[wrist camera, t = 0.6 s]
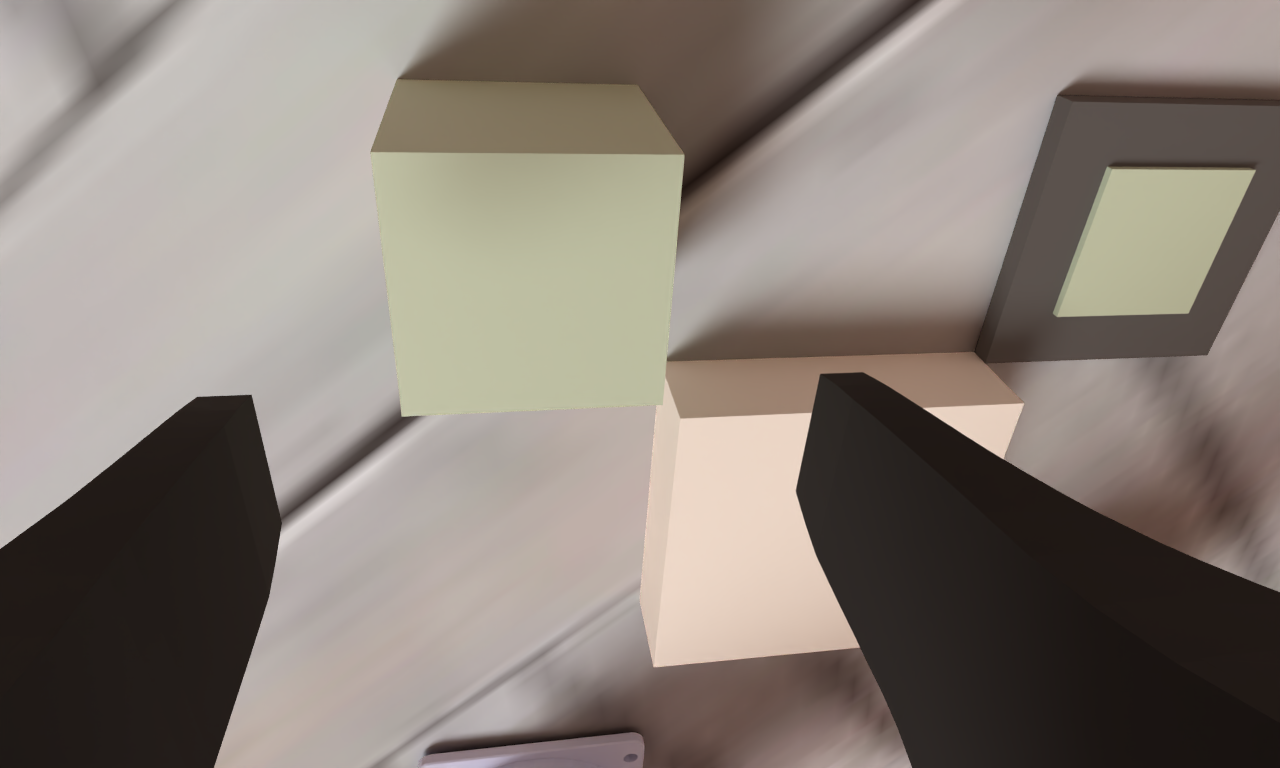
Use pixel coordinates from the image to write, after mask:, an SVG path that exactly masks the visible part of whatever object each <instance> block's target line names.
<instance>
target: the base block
mask: <svg viewBox="0 0 1280 768" xmlns="http://www.w3.org/2000/svg"><path fill="white" fill-rule="evenodd" d="M854 372H863V373H865V374H867V375H869V376H871V377H873V378H875V379H877V380H878V381H880V382H882V383H884V384H885V385H887V386H889V387H890V388H892V389H894V390H895V391H897V392H898V393H900V394H901V395H903V396H905V397H906V398H908V399H909V400H911V401H913V402H914V403H916V404H917V405H919V406H920V407H922V408H923V409H925V410H926V411H928V412H930V413H931V414H933V415H934V416H936V417H937V418H939V419H940V420H942V421H943V422H945V423H947V424H948V425H950V426H951V427H953V428H954V429H956V430H957V431H959V432H961V433H962V434H964V435H965V436H967V437H968V438H970V439H972V440H973V441H975V442H976V443H978V444H979V445H981V446H983V447H984V448H986V449H987V450H989V451H991V452H992V453H994V454H995V455H997V456H999V457H1000V458H1002V459H1004V456H1005V453H1006V451H1007V448H1008V445H1009V443H1010V440H1011V437H1012V435H1013V432H1014V430H1015V427H1016V424H1017V422H1018V419H1019V416H1020V414H1021V411H1022V408H1023V406H1024V402H1023V401H1022V400H1021V399H1020V398H1019V397H1018V396H1017V395H1016V394H1015V393H1014V392H1013V391H1012V390H1011V389H1010V388H1009V387H1008V386H1007V385H1006V384H1005V383H1004V382H1003V381H1002V380H1001V379H1000V378H999V377H998V376H997V375H996V374H995V373H994V372H993V371H992V370H991V369H990V368H989V367H988V366H987V365H986V364H985V363H984V362H983V361H982V360H981V359H980V358H979V357H978V356H977V355H976V354H975V353H974V352H954V353H922V354H890V355H859V356H827V357H795V358H764V359H732V360H700V361H668V362H666V373H665V384H664V396H663V405H656V416H655V428H654V440H653V451H652V463H651V474H650V486H649V497H648V509H647V521H646V532H645V544H644V555H643V567H642V578H641V590H640V605H641V610H642V615H643V620H644V624H645V629H646V634H647V638H648V643H649V648H650V653H651V657H652V662H653V667H663V666H674V665H684V664H694V663H705V662H715V661H726V660H736V659H746V658H757V657H767V656H777V655H788V654H798V653H808V652H819V651H829V650H840V649H850V648H860V646H859V644H858V642H857V640H856V638H855V636H854V634H853V632H852V630H851V628H850V626H849V624H848V622H847V620H846V617H845V615H844V613H843V611H842V609H841V607H840V605H839V603H838V601H837V599H836V597H835V595H834V593H833V591H832V588H831V586H830V584H829V582H828V580H827V578H826V576H825V574H824V572H823V569H822V567H821V565H820V563H819V561H818V559H817V556H816V554H815V551H814V548H813V545H812V542H811V539H810V536H809V533H808V530H807V528H806V524H805V521H804V518H803V514H802V511H801V508H800V504H799V501H798V498H797V495H796V486H797V482H798V477H799V472H800V467H801V463H802V458H803V453H804V448H805V444H806V439H807V434H808V429H809V424H810V420H811V415H812V410H813V405H814V401H815V396H816V391H817V386H818V382H819V377H820V374H827V373H854Z"/></svg>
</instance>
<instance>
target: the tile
mask: <svg viewBox="0 0 1280 768" xmlns="http://www.w3.org/2000/svg"><path fill="white" fill-rule="evenodd" d="M1279 211H1280V100H1242V99H1199V98H1156V97H1114V96H1071V95H1057V98H1056V101H1055V104H1054V107H1053V110H1052V114H1051V117H1050V120H1049V123H1048V126H1047V129H1046V132H1045V135H1044V138H1043V142H1042V145H1041V148H1040V151H1039V154H1038V157H1037V160H1036V163H1035V166H1034V169H1033V173H1032V176H1031V179H1030V182H1029V185H1028V188H1027V191H1026V194H1025V197H1024V200H1023V204H1022V207H1021V210H1020V213H1019V216H1018V219H1017V222H1016V225H1015V228H1014V231H1013V235H1012V238H1011V241H1010V244H1009V247H1008V250H1007V253H1006V256H1005V259H1004V262H1003V266H1002V269H1001V272H1000V275H999V278H998V281H997V284H996V287H995V290H994V293H993V297H992V300H991V303H990V306H989V309H988V312H987V315H986V318H985V321H984V325H983V328H982V331H981V334H980V337H979V340H978V343H977V346H976V349H975V353H976V354H977V355H978V356H979V357H980V358H981V359H982V360H983V361H984V362H985V363H1005V362H1032V361H1060V360H1087V359H1115V358H1142V357H1170V356H1197V355H1208V353H1209V351H1210V349H1211V347H1212V345H1213V343H1214V341H1215V339H1216V337H1217V335H1218V333H1219V331H1220V329H1221V327H1222V325H1223V323H1224V321H1225V319H1226V317H1227V315H1228V313H1229V311H1230V309H1231V307H1232V305H1233V303H1234V301H1235V299H1236V297H1237V295H1238V293H1239V291H1240V289H1241V287H1242V285H1243V283H1244V281H1245V279H1246V277H1247V275H1248V273H1249V271H1250V269H1251V267H1252V265H1253V263H1254V261H1255V259H1256V257H1257V255H1258V253H1259V251H1260V249H1261V247H1262V245H1263V243H1264V241H1265V239H1266V237H1267V235H1268V233H1269V231H1270V229H1271V227H1272V225H1273V223H1274V221H1275V219H1276V217H1277V215H1278V213H1279Z"/></svg>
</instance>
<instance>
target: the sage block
mask: <svg viewBox="0 0 1280 768" xmlns="http://www.w3.org/2000/svg"><path fill="white" fill-rule="evenodd" d="M370 154H371V162H372V170H373V179H374V187H375V195H376V204H377V212H378V220H379V229H380V237H381V245H382V254H383V262H384V270H385V279H386V287H387V296H388V304H389V312H390V321H391V329H392V337H393V346H394V354H395V362H396V371H397V379H398V387H399V396H400V404H401V413H402V416H424V415H446V414H469V413H492V412H514V411H537V410H560V409H582V408H605V407H628V406H650V405H663V396H664V384H665V373H666V362H667V350H668V339H669V327H670V316H671V305H672V293H673V282H674V270H675V259H676V248H677V236H678V225H679V213H680V202H681V191H682V179H683V168H684V156H685V155H684V153H683V152H682V150H681V149H680V147H679V146H678V144H677V143H676V141H675V140H674V138H673V137H672V135H671V134H670V132H669V131H668V129H667V128H666V126H665V125H664V123H663V122H662V120H661V119H660V117H659V116H658V115H657V113H656V112H655V110H654V109H653V107H652V106H651V104H650V103H649V101H648V100H647V98H646V97H645V95H644V94H643V92H642V91H641V89H640V88H639V86H638V85H628V84H585V83H541V82H498V81H454V80H411V79H397V80H396V83H395V86H394V89H393V91H392V94H391V97H390V100H389V102H388V105H387V108H386V111H385V113H384V116H383V119H382V122H381V124H380V127H379V130H378V133H377V135H376V138H375V141H374V144H373V146H372V149H371V152H370Z"/></svg>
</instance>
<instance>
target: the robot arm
mask: <svg viewBox="0 0 1280 768" xmlns="http://www.w3.org/2000/svg"><path fill="white" fill-rule="evenodd" d="M796 495H797V498H798V501H799V504H800V508H801V511H802V514H803V518H804V521H805V524H806V528H807V530H808V533H809V536H810V539H811V542H812V545H813V548H814V551H815V554H816V556H817V559H818V561H819V563H820V565H821V567H822V569H823V572H824V574H825V576H826V578H827V580H828V582H829V584H830V586H831V588H832V591H833V593H834V595H835V597H836V599H837V601H838V603H839V605H840V607H841V609H842V611H843V613H844V615H845V617H846V620H847V622H848V624H849V626H850V628H851V630H852V632H853V634H854V636H855V638H856V640H857V642H858V644H859V646H860V648H861V650H862V652H863V654H864V656H865V658H866V660H867V663H868V665H869V667H870V669H871V671H872V673H873V675H874V677H875V679H876V681H877V683H878V685H879V687H880V689H881V691H882V693H883V695H884V698H885V700H886V702H887V704H888V707H889V709H890V711H891V714H892V716H893V718H894V721H895V723H896V725H897V727H898V730H899V733H900V735H901V738H902V741H903V744H904V746H905V749H906V752H907V755H908V757H909V760H910V763H911V766H912V768H1280V592H1278V591H1275V590H1272V589H1270V588H1267V587H1264V586H1262V585H1259V584H1257V583H1254V582H1252V581H1249V580H1247V579H1244V578H1242V577H1240V576H1237V575H1235V574H1232V573H1230V572H1227V571H1225V570H1222V569H1220V568H1218V567H1215V566H1213V565H1210V564H1208V563H1205V562H1203V561H1200V560H1198V559H1196V558H1193V557H1191V556H1189V555H1186V554H1184V553H1182V552H1180V551H1177V550H1175V549H1173V548H1171V547H1168V546H1166V545H1164V544H1162V543H1159V542H1157V541H1155V540H1153V539H1151V538H1149V537H1147V536H1145V535H1143V534H1141V533H1139V532H1137V531H1135V530H1133V529H1130V528H1128V527H1126V526H1124V525H1122V524H1120V523H1118V522H1116V521H1114V520H1112V519H1110V518H1108V517H1106V516H1104V515H1102V514H1100V513H1098V512H1096V511H1094V510H1092V509H1090V508H1088V507H1086V506H1084V505H1082V504H1081V503H1079V502H1077V501H1075V500H1073V499H1071V498H1069V497H1068V496H1066V495H1064V494H1062V493H1061V492H1059V491H1057V490H1055V489H1053V488H1052V487H1050V486H1048V485H1046V484H1045V483H1043V482H1041V481H1039V480H1038V479H1036V478H1034V477H1032V476H1031V475H1029V474H1027V473H1025V472H1024V471H1022V470H1020V469H1019V468H1017V467H1015V466H1014V465H1012V464H1010V463H1009V462H1007V461H1005V460H1004V459H1002V458H1000V457H999V456H997V455H995V454H994V453H992V452H991V451H989V450H987V449H986V448H984V447H983V446H981V445H979V444H978V443H976V442H975V441H973V440H972V439H970V438H968V437H967V436H965V435H964V434H962V433H961V432H959V431H957V430H956V429H954V428H953V427H951V426H950V425H948V424H947V423H945V422H943V421H942V420H940V419H939V418H937V417H936V416H934V415H933V414H931V413H930V412H928V411H926V410H925V409H923V408H922V407H920V406H919V405H917V404H916V403H914V402H913V401H911V400H909V399H908V398H906V397H905V396H903V395H901V394H900V393H898V392H897V391H895V390H894V389H892V388H890V387H889V386H887V385H885V384H884V383H882V382H880V381H878V380H877V379H875V378H873V377H871V376H869V375H867V374H865V373H863V372H854V373H827V374H820V377H819V382H818V386H817V391H816V396H815V401H814V405H813V410H812V415H811V420H810V424H809V429H808V434H807V439H806V444H805V448H804V453H803V458H802V463H801V467H800V472H799V477H798V482H797V486H796ZM281 525H282V522H281V518H280V513H279V509H278V505H277V501H276V497H275V492H274V488H273V484H272V480H271V475H270V471H269V467H268V463H267V458H266V454H265V450H264V446H263V442H262V437H261V433H260V429H259V425H258V420H257V416H256V412H255V408H254V404H253V399H252V395H237V396H210V397H197V398H195V399H194V400H192V401H191V402H190V403H188V404H187V405H185V406H184V407H183V408H181V409H180V410H179V411H178V412H176V413H175V414H174V415H172V416H171V417H170V418H169V419H167V420H166V421H165V422H164V423H163V424H161V425H160V426H159V427H158V428H156V429H155V430H154V431H153V432H151V433H150V434H149V435H148V436H147V437H145V438H144V439H143V440H142V441H140V442H139V443H138V444H137V445H136V446H134V447H133V448H132V449H131V450H129V451H128V452H127V453H126V454H125V455H123V456H122V457H121V458H119V459H118V460H117V461H116V462H114V463H113V464H112V465H111V466H109V467H108V468H107V469H106V470H104V471H103V472H102V473H101V474H99V475H98V476H97V477H96V478H94V479H93V480H92V481H91V482H89V483H88V484H87V485H86V486H84V487H83V488H82V489H81V490H79V491H78V492H77V493H76V494H74V495H73V496H72V497H71V498H69V499H68V500H67V501H65V502H64V503H63V504H61V505H60V506H59V507H57V508H56V509H54V510H53V511H52V512H50V513H49V514H48V515H46V516H45V517H44V518H42V519H41V520H39V521H38V522H37V523H35V524H34V525H33V526H31V527H30V528H28V529H27V530H26V531H24V532H23V533H22V534H20V535H19V536H17V537H16V538H15V539H13V540H12V541H11V542H9V543H8V544H7V545H5V546H4V547H2V548H1V549H0V768H214V765H215V762H216V759H217V756H218V753H219V750H220V747H221V744H222V741H223V738H224V735H225V732H226V729H227V726H228V723H229V719H230V716H231V713H232V710H233V707H234V704H235V701H236V698H237V695H238V692H239V689H240V686H241V683H242V680H243V677H244V674H245V670H246V667H247V664H248V661H249V658H250V655H251V652H252V649H253V646H254V643H255V639H256V636H257V633H258V630H259V627H260V624H261V621H262V618H263V614H264V611H265V608H266V605H267V601H268V598H269V594H270V589H271V583H272V578H273V573H274V567H275V562H276V556H277V550H278V543H279V537H280V531H281ZM644 750H645V746H644V740H643V736H641V735H640V734H638V733H635V732H630V733H620V734H611V735H602V736H593V737H584V738H575V739H566V740H556V741H547V742H538V743H529V744H520V745H511V746H502V747H492V748H483V749H474V750H465V751H456V752H447V753H438V754H430V755H427V756H425V757H423V758H421V760H420V761H419V764H418V768H643V760H644Z"/></svg>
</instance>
